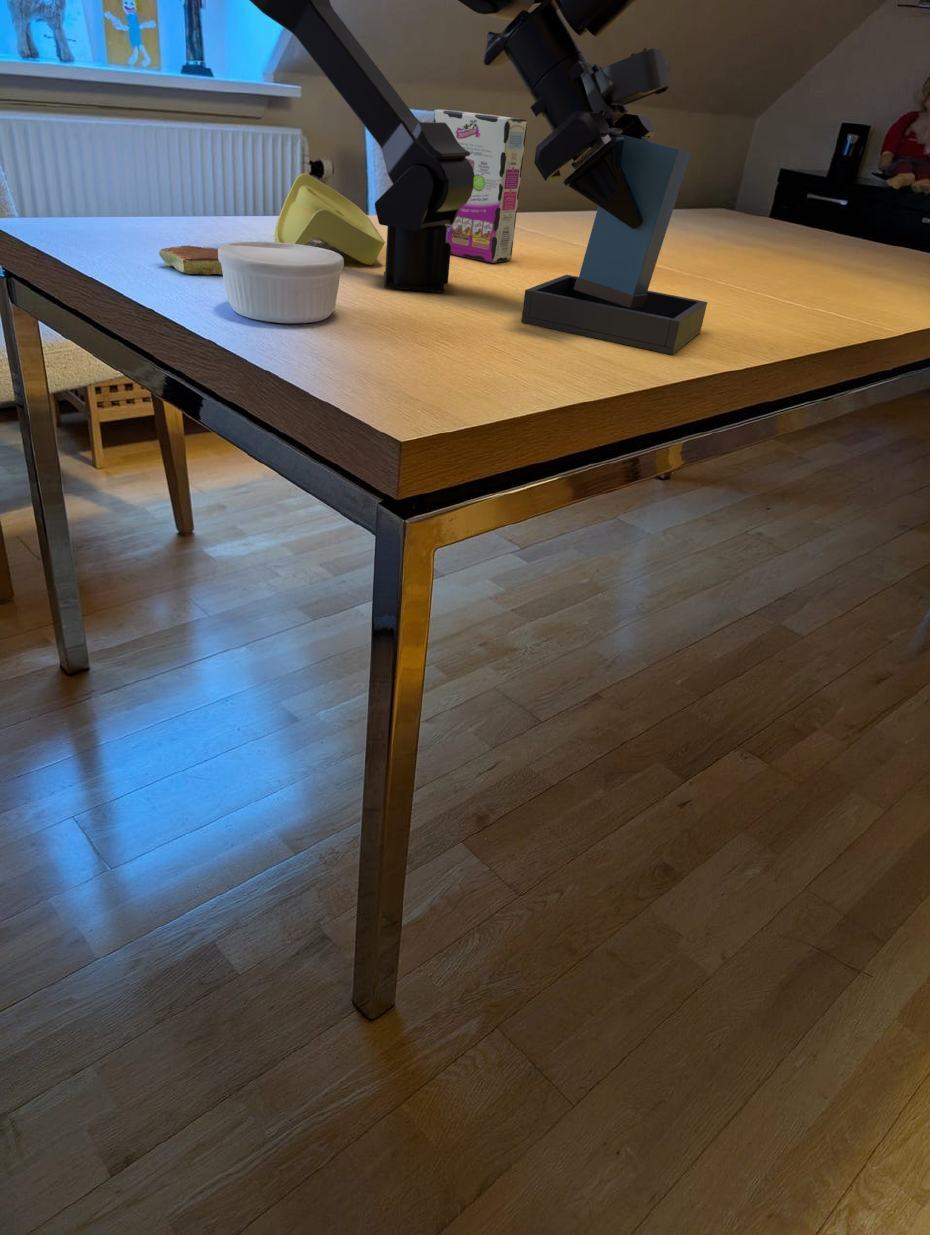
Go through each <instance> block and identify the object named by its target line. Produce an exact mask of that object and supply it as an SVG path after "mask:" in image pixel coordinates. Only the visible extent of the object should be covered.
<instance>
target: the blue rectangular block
mask: <svg viewBox="0 0 930 1235" xmlns="http://www.w3.org/2000/svg"><path fill="white" fill-rule="evenodd" d="M618 137H624V144H623V150H622V157H621V167H622V169H623V172H624V174H625V177H626V179H627V181H628V184H629V186H630V189H631V191H632V194H633V196H634V198H635V201H636V203H637V206H638V208H639V211H640V214H641V216H642V219H643V222H642V224H641V225H639V226H638V227H637V228H635V229H632V228H631V227H629V226H628V225H626V224H625V223H623V222H622V221H620V220H619V219H618V218H616V217H615V216H613V215H612V214H610V213H609V212H607V211H606V210H604V209H603V208H601V207H600V206H598V205H597V209H596V213H595V216H594V221H593V224H592V228H591V231H590V234H589V238H588V242H587V246H586V249H585V253H584V256H583V261H582V263H581V266H580V267H581V268H580V270H579V275H578V277H579V278H577V280H576V284H575V287H574V290H576V291H579V292H582V293H585V294H588V295H591V296H594V297H597V298H600V299H604V300H607V301H610V302H613V303H616V304H619V305H622V306H625V307H628V308H634V307H642V306H644V304H645V301H646V298H647V295H648V294H647V291H649V288H650V284H651V282H652V278H653V275H654V272H655V269H656V265H657V262H658V260H659V255H660V253H661V249H662V246H663V242H664V240H665V237H666V235H667V234H666V233H667V231H668V228H669V224H670V221H671V218H672V215H673V211H674V209H675V205H676V202H677V199H678V195H679V193H680V191H681V190H680V189H681V186H682V184H683V180H684V176H685V174H686V171H687V167H688V163H689V162H690V158H691V155H692V154H691V152H689V151H686V150H683V149H680V148H677V147H673V146H669V145H664V144H661V143H657V142H653V141H649V140H648V141H645V140H641V139H637V138H634V137H630V136H626V135H622V134H618Z"/></svg>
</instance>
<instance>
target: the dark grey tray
mask: <svg viewBox="0 0 930 1235" xmlns="http://www.w3.org/2000/svg"><path fill="white" fill-rule="evenodd" d="M577 278H579V276H577V275H571V274H564V275H562V276H558V277H556V278H554V279H550V280H548V281H546V282H542V283H539V284H538V285H537V284H536V285H535V286H532V287H529V288H527V289H525V290H524V294H523V295H524V296H523V302H522V303H523V304H522V310H521V319H520V322H521V323H524V324H529V325H532V326H537V327H543V328H547V329H552V330H555V331H561V332H565V333H570V334H574V335H579V336H584V337H588V338H593V339H598V340H601V341H606V342H611V343H615V344H621V345H625V346H630V347H634V348H639V349H644V350H648V351H652V352H656V353H661V354H666V355H669V356H672V355H674V354H675V353H676V352H678V351H680V349H682V348H683V347H684V346H685V345H687V343H690V341H692V340H693V339H694V338H695V337H697V336H698V335H699V334H700V333H701V331H702V327H703V323H704V320H705V315H706V311H707V307H708V306H707V305H708V302H707V301H704V300H700V299H693V298H689V297H684V296H678V295H674V294H668V293H663V292H658V291H652V290H648V291H647V294H648V295H647V298H646V301H645V304H644V306H642V307H634V308H628V307H625V306H622V305H619V304H616V303H613V302H610V301H607V300H604V299H600V298H597V297H594V296H591V295H588V294H585V293H582V292H579V291H576V290H574V287H575V284H576V280H577Z"/></svg>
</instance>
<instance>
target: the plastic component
mask: <svg viewBox="0 0 930 1235" xmlns="http://www.w3.org/2000/svg"><path fill="white" fill-rule="evenodd" d="M314 239H317V240H318V241H319V242H323V243H325V244H326V245H328V246H331V247H333V248H335V249H337V250H339V251H340V252H342V253H344V254H346V255H347V256H349V257H350V258H352V259H354V260H356V261H357V262H360V263H362V264H364V265H366V266H371V265H374V264H375V262H376V260H377V258H378V256H379V255H380V253H381V251H382V249H383V247H384V246H385V244H386V241H385V240H384V238H383V236H382V235H381V233H380V232H379V231H378V229H377V228H376V226H375V224H374V223H373V222H372V220H371V218H370V217H369V216H368V215H367V213H365V211H363V209H361V208H360V207H359V206H358V205H356V204H355V203H354V202H352V201H351V200H350V199H348V198H347V197H346V196H344V195H342V194H341V193H339V192H338V191H336V190H335V189H333V188H331V187H330V186H328V185H327V184H326V183H324V182H322V181H320V180H318V179H317V178H315V177H314V176H312V175H310V174H308V173H301V174H298V175H297V176H296V178H295V180H294V181H293V184H292V186H291V188H290V189H289V192H288V194H287V196H286V197H285V200H284V203H283V204H282V208H281V210H280V213H279V215H278V218H277V221H276V225H275V229H274V242H279V243H290V244H299V245H306V246H307V244H308V242H309V241H311V240H314Z"/></svg>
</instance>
